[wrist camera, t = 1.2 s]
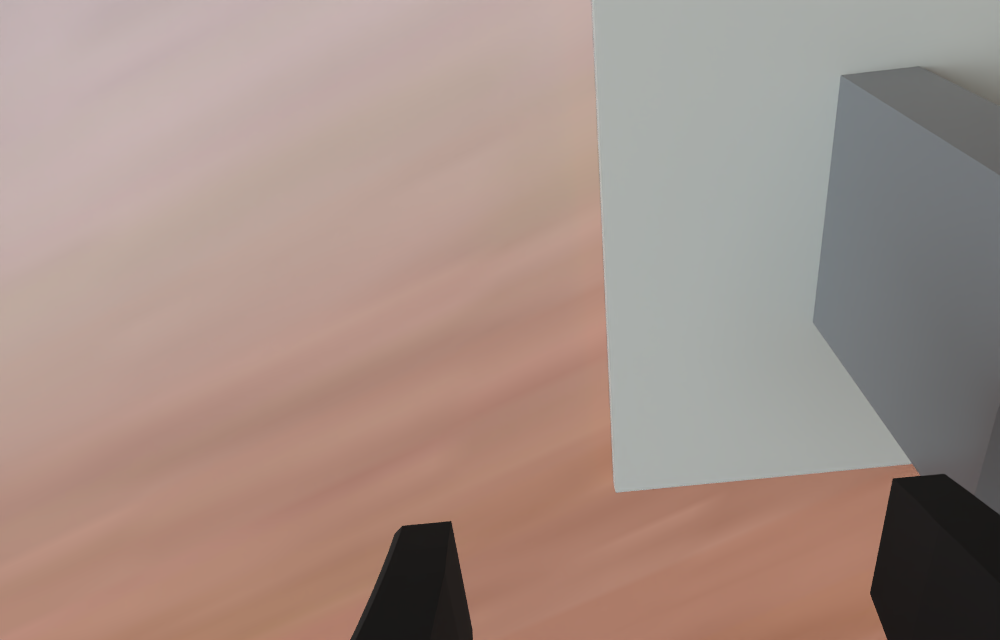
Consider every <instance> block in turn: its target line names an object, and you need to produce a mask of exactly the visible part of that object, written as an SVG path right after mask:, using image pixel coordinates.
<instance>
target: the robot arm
mask: <svg viewBox="0 0 1000 640" xmlns="http://www.w3.org/2000/svg"><path fill="white" fill-rule="evenodd" d="M870 595H871V597H872V600H873V603H874V605H875V608H876V611H877V613H878V616H879V619H880V621H881V624H882V626H883V629H884V632H885V634H886V637H887V640H1000V515H999V514H998V513H997V512H995V511H994V510H993V509H991V508H990V507H989V506H988V505H986V504H985V503H984V502H982V501H981V500H980V499H978V498H977V497H976V496H974V495H973V494H972V493H970V492H969V491H968V490H966V489H965V488H964V487H962V486H961V485H959V484H958V483H957V482H955V481H954V480H953V479H951V478H950V477H948V476H947V475H946V474H936V475H925V476H915V477H905V478H894V479H893V481H892V486H891V491H890V496H889V501H888V506H887V511H886V516H885V521H884V526H883V531H882V536H881V541H880V546H879V551H878V556H877V561H876V566H875V571H874V576H873V581H872V586H871V591H870ZM350 640H473V634H472V626H471V620H470V615H469V610H468V605H467V600H466V595H465V590H464V584H463V579H462V574H461V569H460V564H459V559H458V554H457V548H456V543H455V538H454V533H453V528H452V523H451V521H449V522H438V523H428V524H418V525H407V526H402V527H401V528H400V529H399V530H398V531H397V532H396V533H395V535H394V537H393V540H392V543H391V546H390V549H389V552H388V554H387V557H386V559H385V562H384V564H383V567H382V570H381V572H380V575H379V577H378V579H377V582H376V584H375V587H374V589H373V591H372V594H371V596H370V598H369V600H368V603H367V605H366V607H365V609H364V612H363V614H362V616H361V618H360V620H359V623H358V625H357V627H356V629H355V631H354V633H353V635H352V637H351V639H350Z"/></svg>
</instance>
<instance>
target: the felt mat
mask: <svg viewBox="0 0 1000 640" xmlns="http://www.w3.org/2000/svg"><path fill="white" fill-rule="evenodd" d="M592 18H593V40H594V62H595V84H596V106H597V128H598V150H599V172H600V194H601V216H602V238H603V260H604V282H605V304H606V326H607V348H608V370H609V392H610V414H611V436H612V458H613V480H614V487H615V491H616V492H626V491H637V490H647V489H657V488H668V487H678V486H688V485H698V484H709V483H719V482H729V481H740V480H750V479H760V478H771V477H781V476H791V475H802V474H812V473H822V472H832V471H843V470H853V469H863V468H874V467H884V466H894V465H905V464H912V463H911V461H910V460H909V458H908V457H907V456H906V454H905V453H904V451H903V450H902V449H901V447H900V446H899V444H898V443H897V441H896V440H895V439H894V437H893V436H892V434H891V433H890V431H889V430H888V429H887V427H886V426H885V424H884V423H883V422H882V420H881V419H880V417H879V416H878V414H877V413H876V412H875V410H874V409H873V407H872V406H871V404H870V403H869V402H868V400H867V399H866V397H865V396H864V395H863V393H862V392H861V390H860V389H859V387H858V386H857V385H856V383H855V382H854V380H853V379H852V377H851V376H850V375H849V373H848V372H847V370H846V369H845V368H844V366H843V365H842V363H841V362H840V360H839V359H838V358H837V356H836V355H835V353H834V352H833V350H832V349H831V348H830V346H829V345H828V343H827V342H826V340H825V339H824V338H823V336H822V335H821V333H820V332H819V331H818V329H817V328H816V326H815V325H814V323H813V315H814V307H815V298H816V289H817V280H818V271H819V262H820V253H821V245H822V236H823V227H824V218H825V209H826V200H827V192H828V183H829V174H830V165H831V156H832V147H833V138H834V130H835V121H836V112H837V103H838V94H839V85H840V77H841V75H846V74H855V73H864V72H872V71H881V70H890V69H899V68H907V67H916V66H920V67H922V68H924V69H926V70H928V71H930V72H932V73H934V74H936V75H938V76H940V77H942V78H944V79H946V80H948V81H950V82H952V83H954V84H956V85H958V86H960V87H962V88H964V89H966V90H968V91H970V92H972V93H974V94H976V95H978V96H980V97H982V98H984V99H986V100H988V101H990V102H992V103H994V104H996V105H998V106H1000V0H592Z"/></svg>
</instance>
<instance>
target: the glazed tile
mask: <svg viewBox="0 0 1000 640" xmlns="http://www.w3.org/2000/svg"><path fill="white" fill-rule="evenodd" d="M813 323H814V325H815V326H816V328H817V329H818V331H819V332H820V333H821V335H822V336H823V338H824V339H825V340H826V342H827V343H828V345H829V346H830V348H831V349H832V350H833V352H834V353H835V355H836V356H837V358H838V359H839V360H840V362H841V363H842V365H843V366H844V368H845V369H846V370H847V372H848V373H849V375H850V376H851V377H852V379H853V380H854V382H855V383H856V385H857V386H858V387H859V389H860V390H861V392H862V393H863V395H864V396H865V397H866V399H867V400H868V402H869V403H870V404H871V406H872V407H873V409H874V410H875V412H876V413H877V414H878V416H879V417H880V419H881V420H882V422H883V423H884V424H885V426H886V427H887V429H888V430H889V431H890V433H891V434H892V436H893V437H894V439H895V440H896V441H897V443H898V444H899V446H900V447H901V449H902V450H903V451H904V453H905V454H906V456H907V457H908V458H909V460H910V461H911V463H912V464H913V466H914V467H915V468H916V470H917V471H918V473H919V474H920V476H925V475H936V474H946V475H947V476H948V477H950V478H951V479H953V480H954V481H955V482H957V483H958V484H959V485H961V486H962V487H964V488H965V489H966V490H968V491H969V492H970V493H972V494H973V495H974V496H976V497H977V498H978V499H980V500H981V501H982V502H984V503H985V504H986V505H988V506H989V507H990V508H991V509H993V510H994V511H995V512H997V513H998V514H999V515H1000V106H998V105H996V104H994V103H992V102H990V101H988V100H986V99H984V98H982V97H980V96H978V95H976V94H974V93H972V92H970V91H968V90H966V89H964V88H962V87H960V86H958V85H956V84H954V83H952V82H950V81H948V80H946V79H944V78H942V77H940V76H938V75H936V74H934V73H932V72H930V71H928V70H926V69H924V68H922V67H920V66H916V67H907V68H899V69H890V70H881V71H872V72H864V73H855V74H846V75H841V77H840V85H839V94H838V103H837V112H836V121H835V130H834V138H833V147H832V156H831V165H830V174H829V183H828V192H827V200H826V209H825V218H824V227H823V236H822V245H821V253H820V262H819V271H818V280H817V289H816V298H815V307H814V315H813Z"/></svg>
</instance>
